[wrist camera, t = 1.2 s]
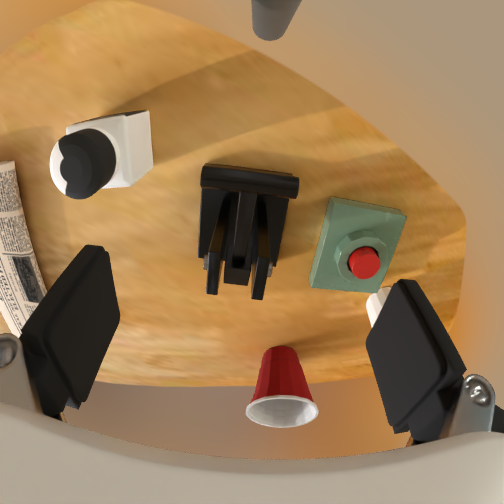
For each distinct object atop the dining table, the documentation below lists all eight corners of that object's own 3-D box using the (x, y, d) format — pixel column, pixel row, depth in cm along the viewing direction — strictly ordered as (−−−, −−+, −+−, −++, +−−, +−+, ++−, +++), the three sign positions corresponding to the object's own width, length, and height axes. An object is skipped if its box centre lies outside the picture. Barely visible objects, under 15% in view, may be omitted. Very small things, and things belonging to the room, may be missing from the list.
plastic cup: (234, 349, 48) (230, 410, 38) (293, 326, 45) (300, 390, 35) (266, 380, 53) (267, 435, 43) (319, 361, 50) (328, 418, 40)
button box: (329, 196, 35) (338, 209, 31) (400, 209, 35) (413, 222, 32) (308, 278, 41) (312, 296, 37) (372, 284, 41) (381, 301, 38)
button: (353, 244, 34) (357, 252, 32) (379, 248, 34) (384, 255, 33) (345, 270, 36) (348, 278, 34) (370, 272, 36) (374, 280, 34)
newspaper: (72, 342, 50) (67, 352, 48) (10, 326, 49) (4, 334, 47) (18, 158, 31) (6, 164, 29) (-43, 170, 31) (-53, 176, 28)
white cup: (407, 283, 41) (425, 313, 35) (394, 316, 45) (409, 347, 39) (368, 283, 41) (383, 315, 35) (357, 318, 45) (369, 350, 39)
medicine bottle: (150, 109, 29) (100, 121, 19) (154, 168, 33) (112, 206, 23) (96, 117, 29) (35, 136, 19) (103, 172, 33) (49, 210, 23)
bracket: (205, 162, 33) (178, 203, 22) (292, 173, 33) (311, 219, 22) (199, 253, 39) (179, 321, 28) (275, 261, 39) (282, 332, 28)
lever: (205, 156, 18) (198, 180, 17) (298, 167, 19) (300, 193, 17) (206, 258, 28) (202, 280, 27) (269, 266, 29) (268, 288, 27)
